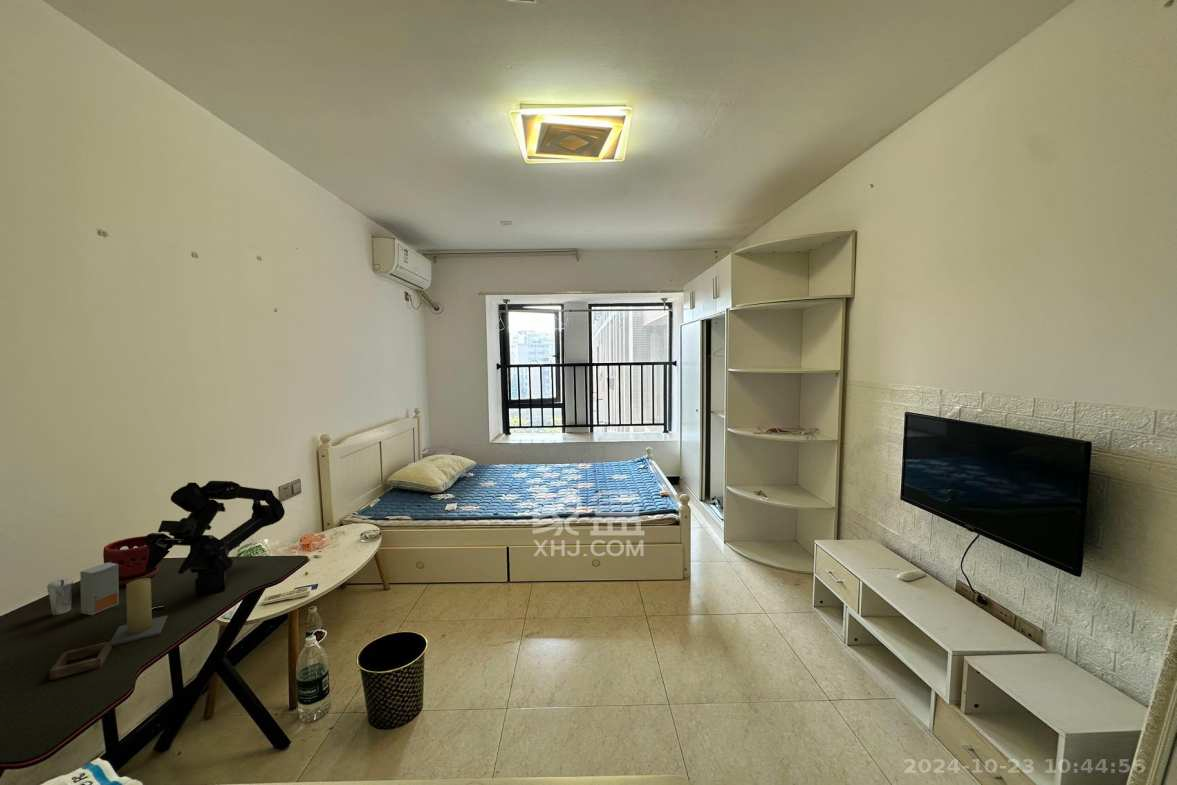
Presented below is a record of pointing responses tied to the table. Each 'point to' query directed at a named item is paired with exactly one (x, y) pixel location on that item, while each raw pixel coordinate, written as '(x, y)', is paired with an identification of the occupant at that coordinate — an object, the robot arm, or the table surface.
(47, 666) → the table surface
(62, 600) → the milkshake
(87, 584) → the skincare box
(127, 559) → the plant pot
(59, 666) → the walnut socket
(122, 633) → the slate mat
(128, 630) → the wooden shaft
